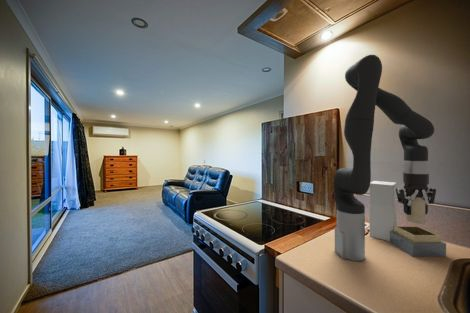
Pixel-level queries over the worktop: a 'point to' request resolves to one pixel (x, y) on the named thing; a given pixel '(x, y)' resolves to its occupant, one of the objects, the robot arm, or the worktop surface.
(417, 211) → the candle
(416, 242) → the grey open box
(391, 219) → the tall white carton
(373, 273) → the worktop surface
